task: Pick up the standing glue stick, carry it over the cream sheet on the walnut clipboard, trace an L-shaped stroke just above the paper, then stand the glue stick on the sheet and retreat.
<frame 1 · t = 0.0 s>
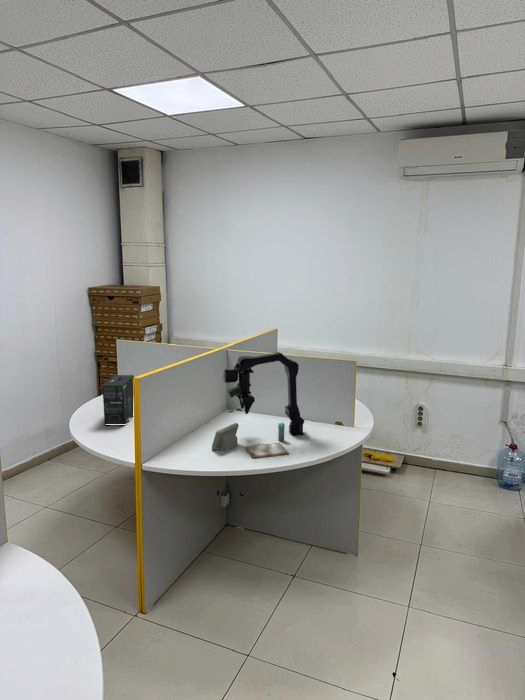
hand: (244, 411, 246), 15 cm above the table, fingers open, 9 cm apart
clipboard: (266, 450, 233), on the table
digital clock: (225, 447, 238), on the table
glue stick: (281, 440, 246), on the table
headset box: (120, 420, 278), on the table
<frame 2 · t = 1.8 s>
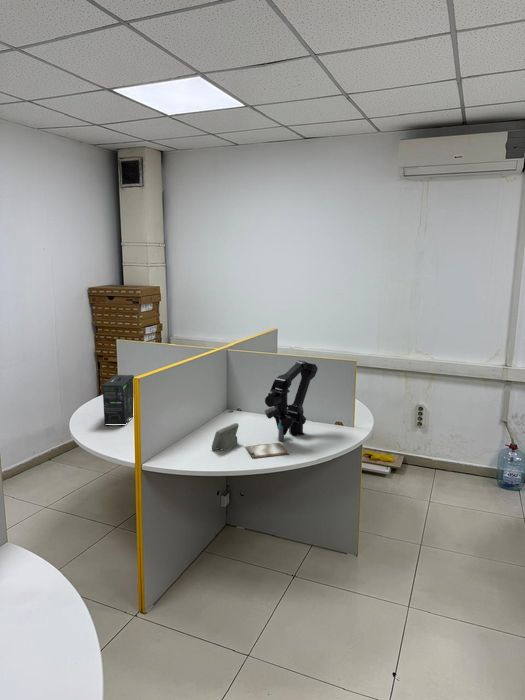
hand: (281, 431, 245), 5 cm above the table, fingers open, 9 cm apart
nothing on the table moved.
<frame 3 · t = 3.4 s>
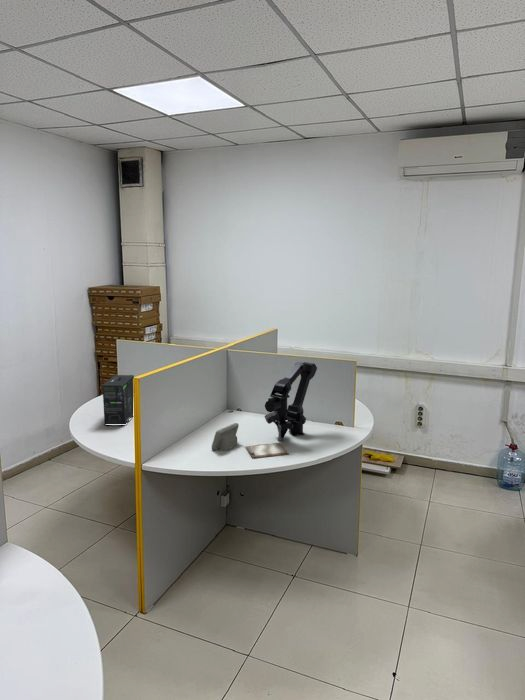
hand: (281, 436, 245), 2 cm above the table, fingers closed on glue stick, 3 cm apart
glue stick: (281, 440, 246), on the table, touching gripper
everything else where it was.
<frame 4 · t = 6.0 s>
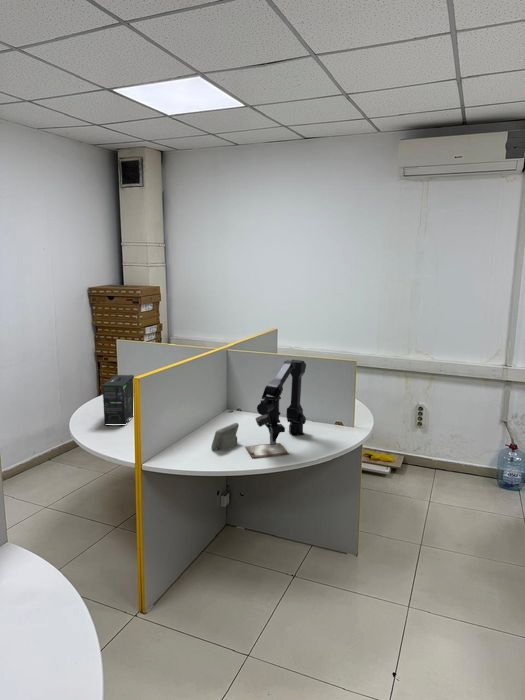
hand: (273, 440, 236), 4 cm above the table, fingers closed on glue stick, 3 cm apart
glue stick: (272, 444, 236), point 2 cm above the table, touching gripper
everything else where it was.
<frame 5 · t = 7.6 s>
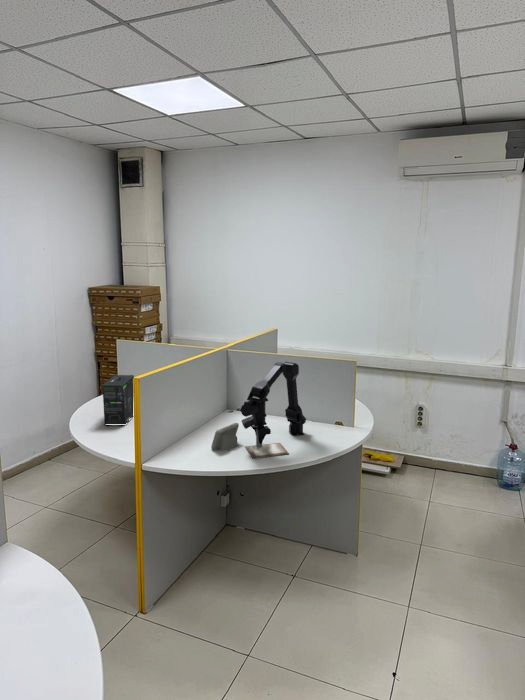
hand: (259, 442, 233), 4 cm above the table, fingers closed on glue stick, 3 cm apart
glue stick: (259, 446, 233), point 2 cm above the table, touching gripper
everything else where it was.
when the fingers open (3 cm above the table, at t = 9.0 s): glue stick stays where it is, resting on clipboard.
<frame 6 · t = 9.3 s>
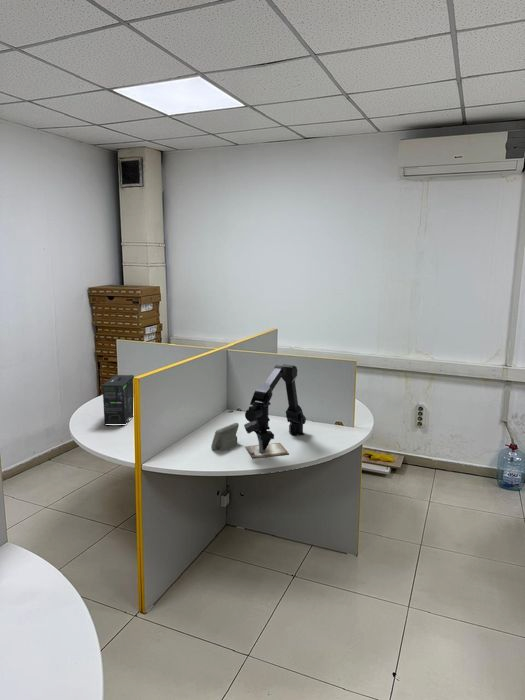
hand: (262, 447, 228), 3 cm above the table, fingers open, 6 cm apart
glue stick: (262, 452, 229), point 1 cm above the table, touching clipboard
everything else where it was.
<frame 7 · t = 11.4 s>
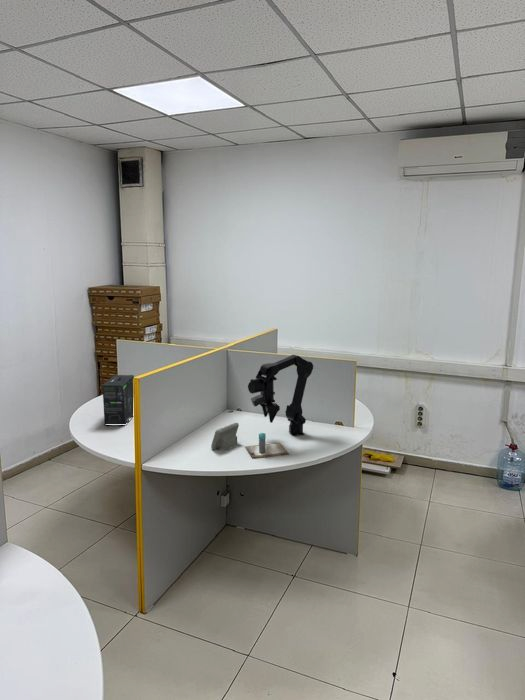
hand: (268, 419, 243), 12 cm above the table, fingers open, 9 cm apart
nothing on the table moved.
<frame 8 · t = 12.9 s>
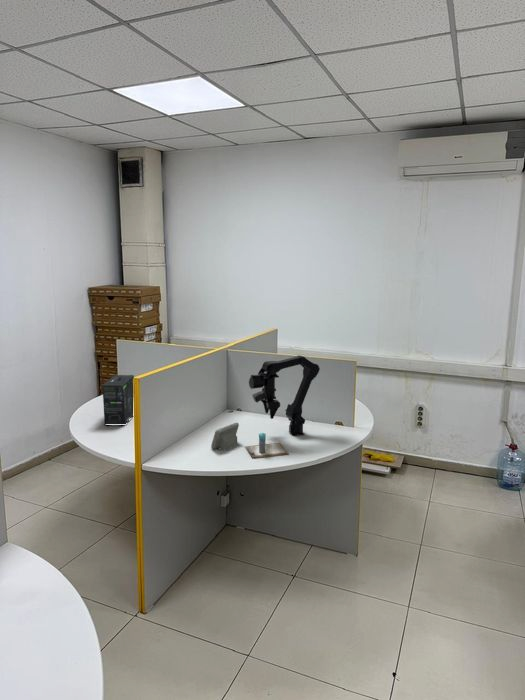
hand: (269, 415, 247), 12 cm above the table, fingers open, 9 cm apart
at the end: glue stick inside the target area on the clipboard (4.2 cm from its centre), point 0.8 cm above the clipboard's base; glue stick tilted 0°; the gripper is holding nothing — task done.
